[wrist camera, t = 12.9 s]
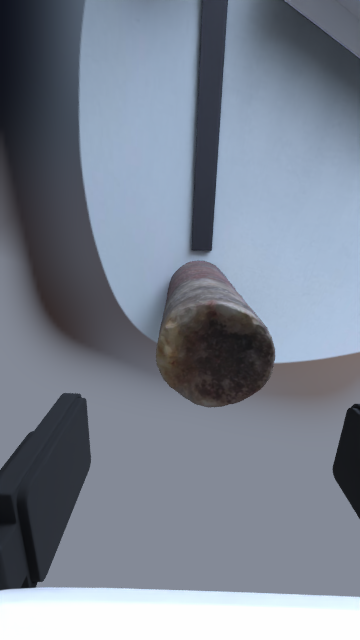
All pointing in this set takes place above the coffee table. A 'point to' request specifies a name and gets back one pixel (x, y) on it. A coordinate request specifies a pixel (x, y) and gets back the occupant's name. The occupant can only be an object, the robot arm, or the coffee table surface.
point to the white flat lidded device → (334, 19)
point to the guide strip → (208, 120)
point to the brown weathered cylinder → (211, 339)
